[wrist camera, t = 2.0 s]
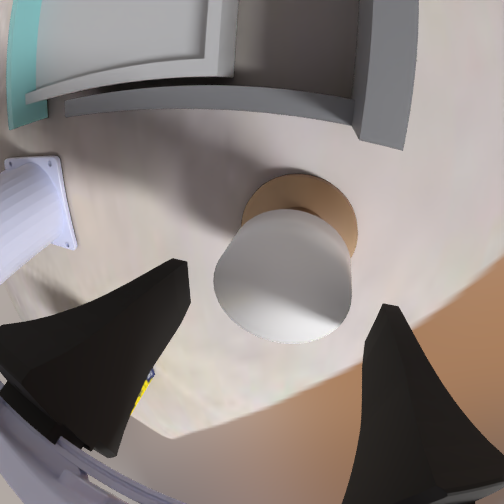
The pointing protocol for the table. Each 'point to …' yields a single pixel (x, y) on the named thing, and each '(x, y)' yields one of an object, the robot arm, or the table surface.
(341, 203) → the disc stand
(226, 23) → the tray
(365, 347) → the robot arm
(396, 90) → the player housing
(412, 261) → the table surface
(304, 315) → the white round dome
